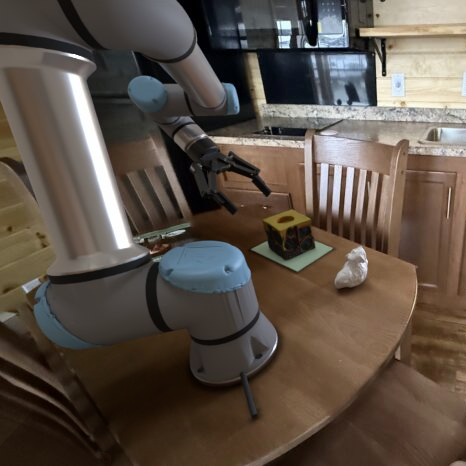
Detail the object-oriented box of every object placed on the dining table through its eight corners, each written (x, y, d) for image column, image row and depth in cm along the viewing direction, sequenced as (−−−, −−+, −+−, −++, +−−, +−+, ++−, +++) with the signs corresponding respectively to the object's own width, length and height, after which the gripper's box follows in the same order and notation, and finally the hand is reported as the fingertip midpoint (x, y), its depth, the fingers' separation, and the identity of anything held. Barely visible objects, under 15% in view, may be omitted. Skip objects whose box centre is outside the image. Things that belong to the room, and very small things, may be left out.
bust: (341, 302, 78) (363, 281, 71) (320, 280, 78) (340, 257, 71) (367, 276, 87) (389, 255, 80) (348, 256, 87) (368, 234, 80)
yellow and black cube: (316, 248, 95) (312, 218, 90) (286, 262, 88) (279, 231, 83) (298, 236, 100) (293, 208, 96) (268, 248, 94) (261, 219, 89)
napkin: (333, 248, 95) (333, 248, 95) (297, 272, 85) (297, 271, 84) (288, 231, 104) (288, 230, 104) (250, 250, 94) (250, 249, 94)
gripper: (228, 144, 100) (275, 194, 103) (151, 166, 79) (213, 228, 82) (237, 128, 96) (286, 181, 99) (158, 147, 75) (224, 213, 78)
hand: (253, 202), depth 91 cm, fingers open, 13 cm apart
